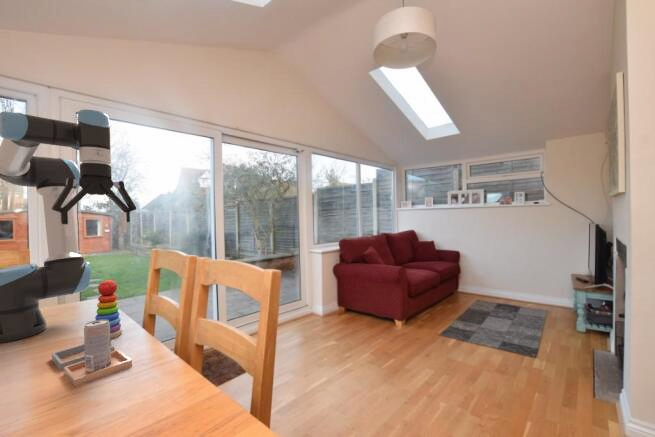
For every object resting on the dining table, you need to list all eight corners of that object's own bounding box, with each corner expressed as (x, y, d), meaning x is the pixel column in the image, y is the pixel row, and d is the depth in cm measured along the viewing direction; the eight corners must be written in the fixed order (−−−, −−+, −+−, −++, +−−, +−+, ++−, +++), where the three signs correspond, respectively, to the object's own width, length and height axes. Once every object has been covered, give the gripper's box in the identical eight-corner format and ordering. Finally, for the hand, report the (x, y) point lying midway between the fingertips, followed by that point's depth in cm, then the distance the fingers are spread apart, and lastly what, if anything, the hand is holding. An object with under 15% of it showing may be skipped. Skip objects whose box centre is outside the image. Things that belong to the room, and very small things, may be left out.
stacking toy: (106, 342, 95) (104, 283, 95) (86, 340, 97) (84, 283, 97) (127, 332, 103) (126, 278, 103) (108, 331, 105) (106, 277, 104)
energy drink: (107, 361, 82) (106, 317, 82) (114, 367, 79) (112, 321, 78) (83, 369, 78) (81, 323, 78) (88, 376, 75) (86, 328, 74)
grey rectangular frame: (51, 359, 85) (51, 353, 85) (103, 344, 94) (102, 338, 94) (60, 370, 78) (60, 363, 78) (114, 353, 88) (114, 346, 88)
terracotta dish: (63, 374, 77) (63, 367, 77) (118, 355, 86) (118, 349, 86) (74, 387, 71) (74, 380, 71) (132, 366, 80) (131, 359, 80)
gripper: (41, 156, 78) (45, 238, 79) (146, 166, 98) (148, 231, 98) (36, 160, 83) (39, 237, 83) (136, 169, 102) (138, 231, 103)
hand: (98, 234), depth 91 cm, fingers open, 13 cm apart
